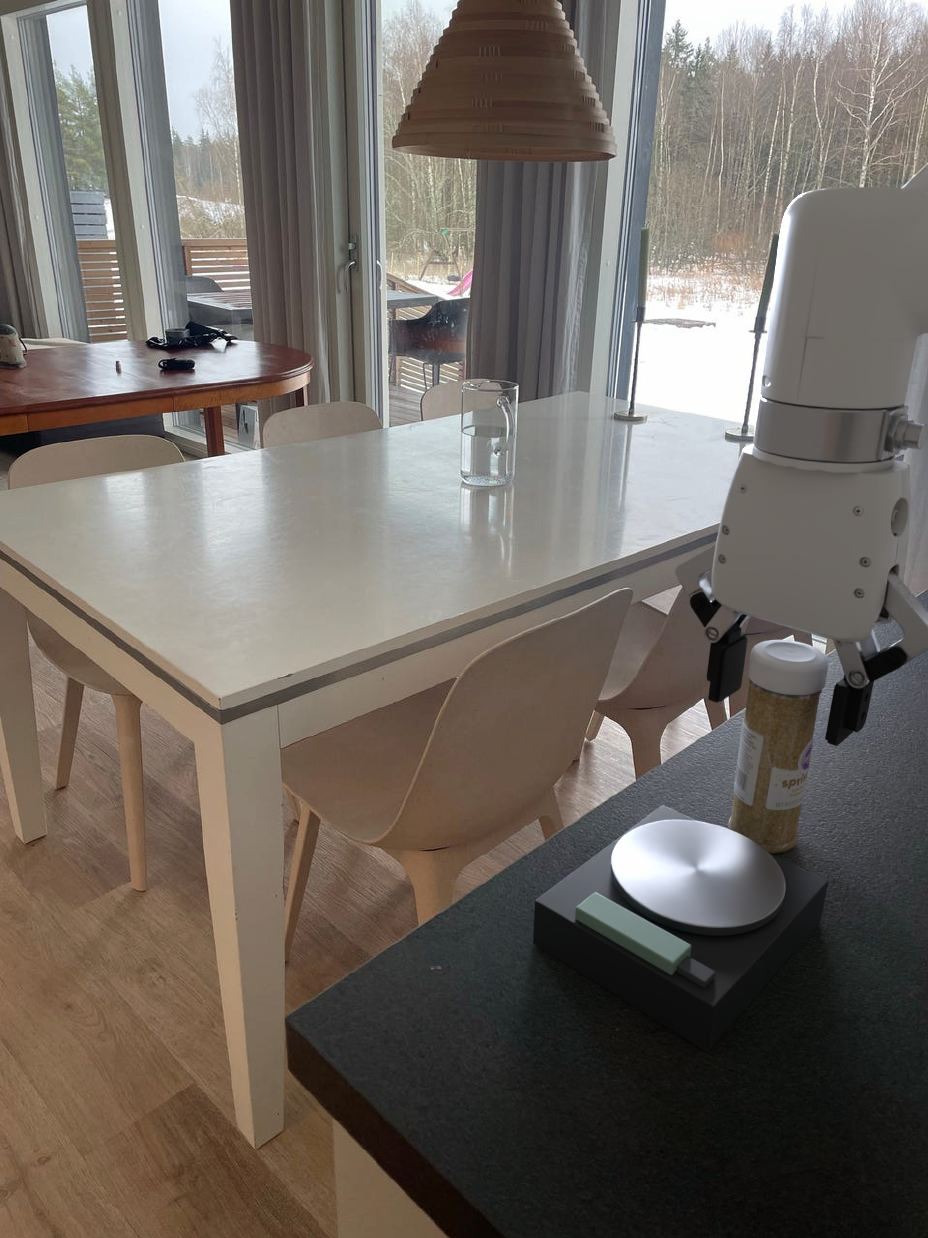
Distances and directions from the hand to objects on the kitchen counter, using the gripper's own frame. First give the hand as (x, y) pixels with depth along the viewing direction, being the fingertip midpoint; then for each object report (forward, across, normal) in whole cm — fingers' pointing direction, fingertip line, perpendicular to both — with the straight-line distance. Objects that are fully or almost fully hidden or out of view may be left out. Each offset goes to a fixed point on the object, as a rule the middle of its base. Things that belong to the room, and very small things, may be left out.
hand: (780, 713), depth 58 cm
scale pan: (+6, -1, +11) cm, 12 cm away
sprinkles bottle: (+9, 0, 0) cm, 9 cm away
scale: (+9, -1, +12) cm, 15 cm away
